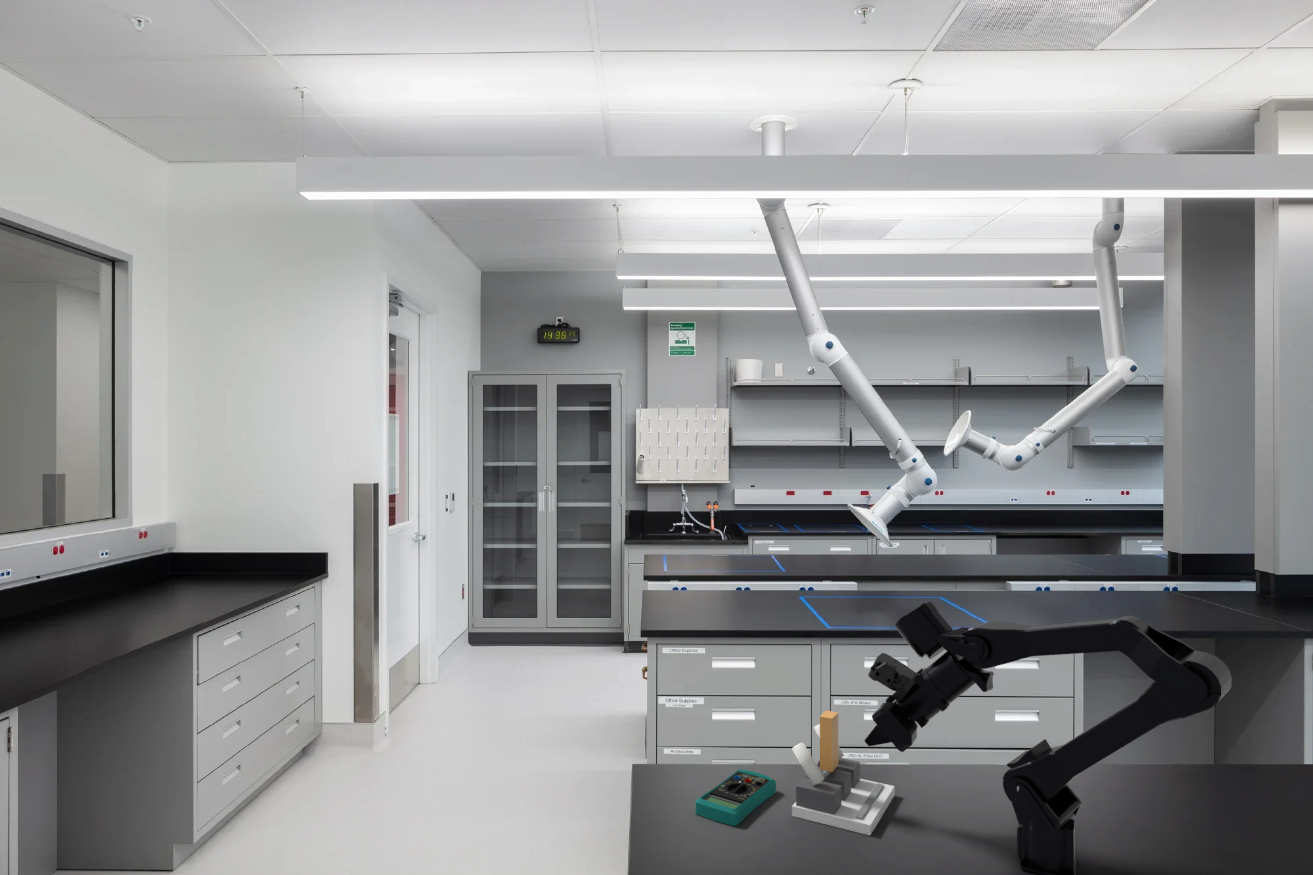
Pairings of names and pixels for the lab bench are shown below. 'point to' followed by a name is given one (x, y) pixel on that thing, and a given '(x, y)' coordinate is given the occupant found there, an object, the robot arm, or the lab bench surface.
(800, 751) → the twin post stand
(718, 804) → the digital multimeter
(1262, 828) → the lab bench surface
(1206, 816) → the lab bench surface
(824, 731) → the wooden block
